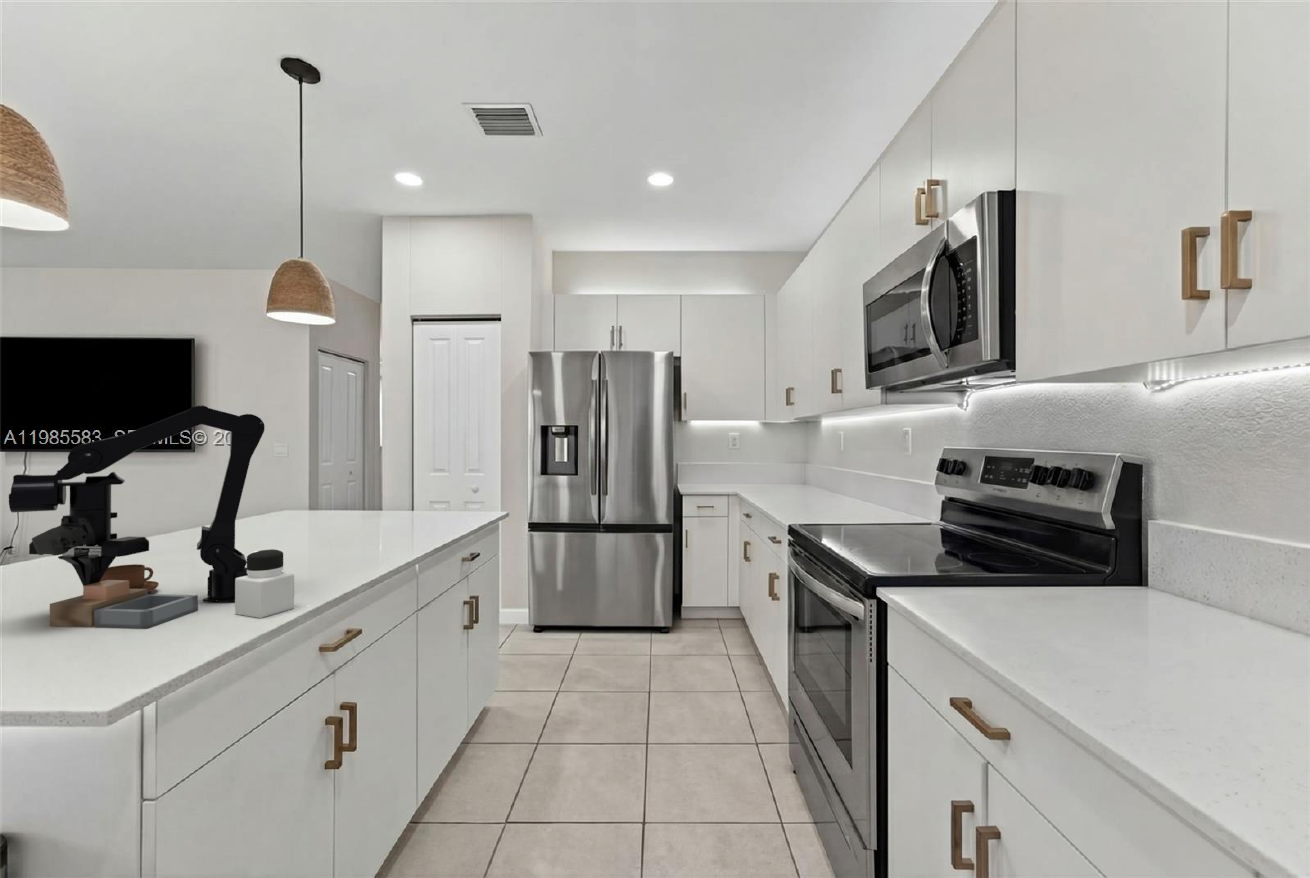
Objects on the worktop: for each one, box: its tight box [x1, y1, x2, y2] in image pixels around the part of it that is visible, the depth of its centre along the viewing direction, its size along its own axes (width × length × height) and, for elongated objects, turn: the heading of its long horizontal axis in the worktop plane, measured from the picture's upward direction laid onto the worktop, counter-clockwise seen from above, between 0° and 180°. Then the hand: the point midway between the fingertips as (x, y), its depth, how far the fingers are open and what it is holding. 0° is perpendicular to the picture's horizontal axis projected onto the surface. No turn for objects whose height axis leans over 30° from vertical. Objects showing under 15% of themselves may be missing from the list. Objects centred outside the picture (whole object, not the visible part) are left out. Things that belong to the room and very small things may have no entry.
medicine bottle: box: [234, 548, 295, 619], centre depth 116 cm, size 7×7×12 cm
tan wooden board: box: [49, 589, 149, 628], centre depth 111 cm, size 8×11×4 cm
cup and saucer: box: [100, 563, 159, 594], centre depth 126 cm, size 12×12×6 cm
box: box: [93, 593, 199, 630], centre depth 111 cm, size 10×11×3 cm
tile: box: [82, 580, 129, 600], centre depth 111 cm, size 4×4×2 cm
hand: (90, 590), depth 112 cm, fingers closed
